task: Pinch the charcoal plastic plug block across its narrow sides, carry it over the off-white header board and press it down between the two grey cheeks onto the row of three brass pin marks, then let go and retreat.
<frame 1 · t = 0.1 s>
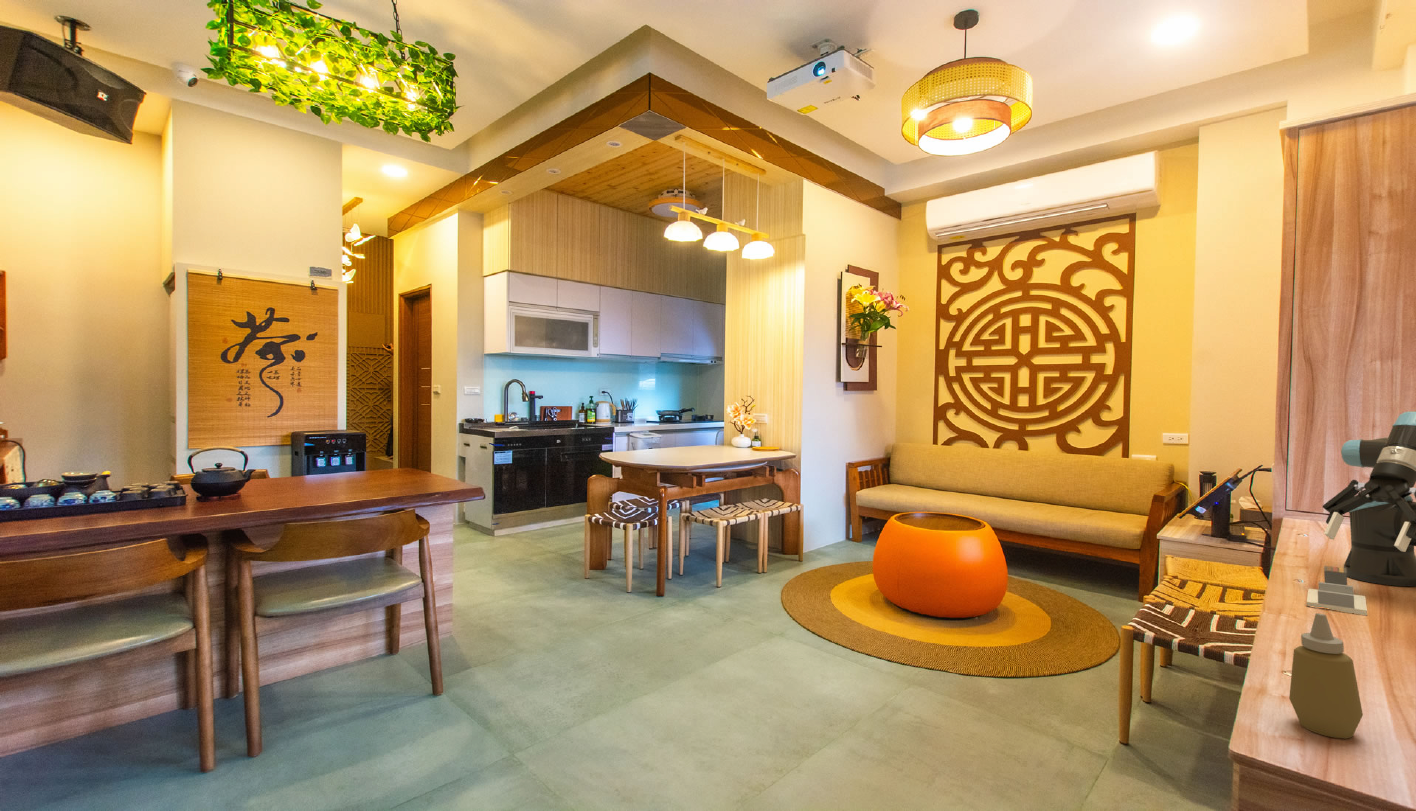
hand: (1362, 542, 148), 15 cm above the countertop, tool tilted 35°, fingers open, 13 cm apart
header board: (1336, 603, 149), on the countertop
plug: (1336, 592, 158), on the countertop
squeeze bottle: (1326, 730, 95), on the countertop
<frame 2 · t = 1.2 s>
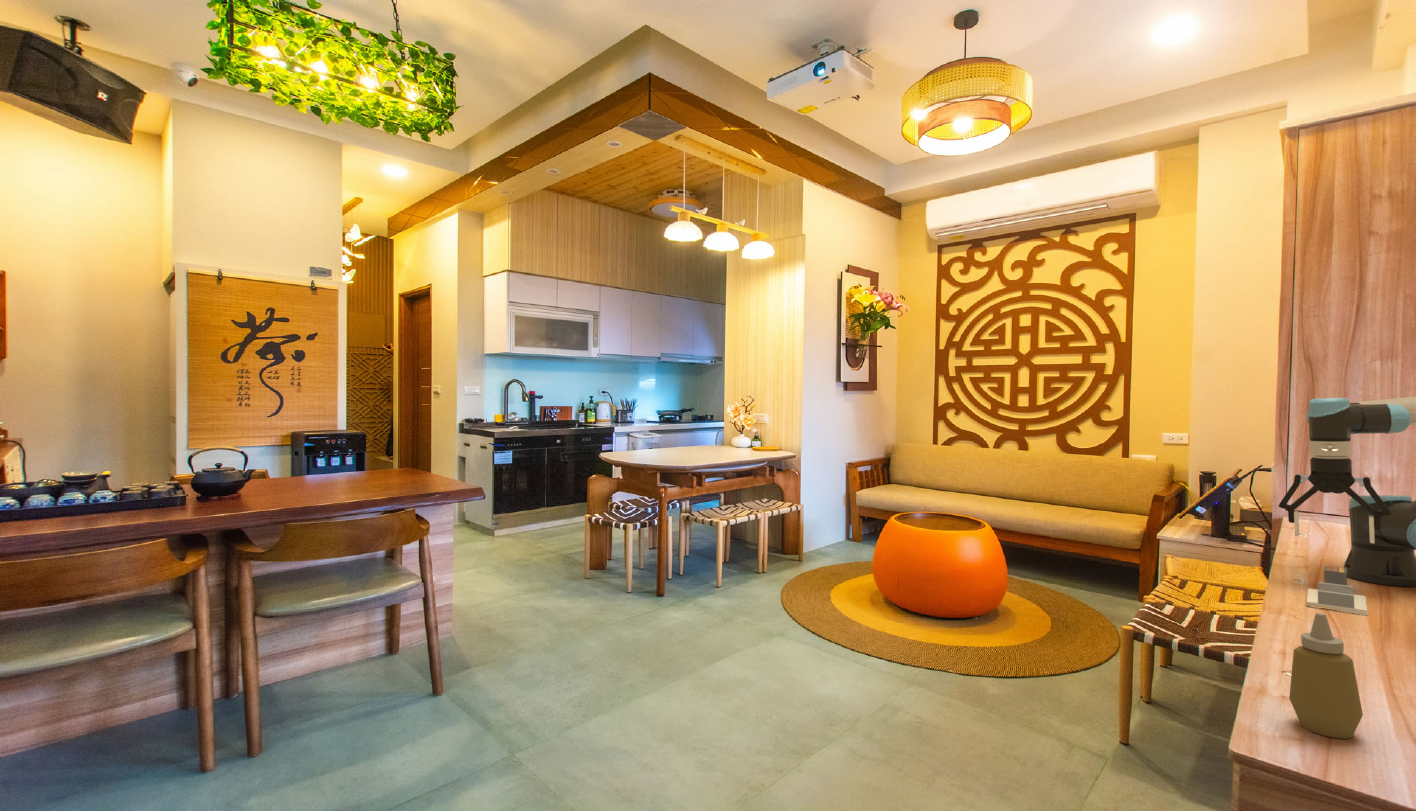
hand: (1333, 538, 158), 14 cm above the countertop, tool pointing down, fingers open, 13 cm apart
nothing on the countertop moved.
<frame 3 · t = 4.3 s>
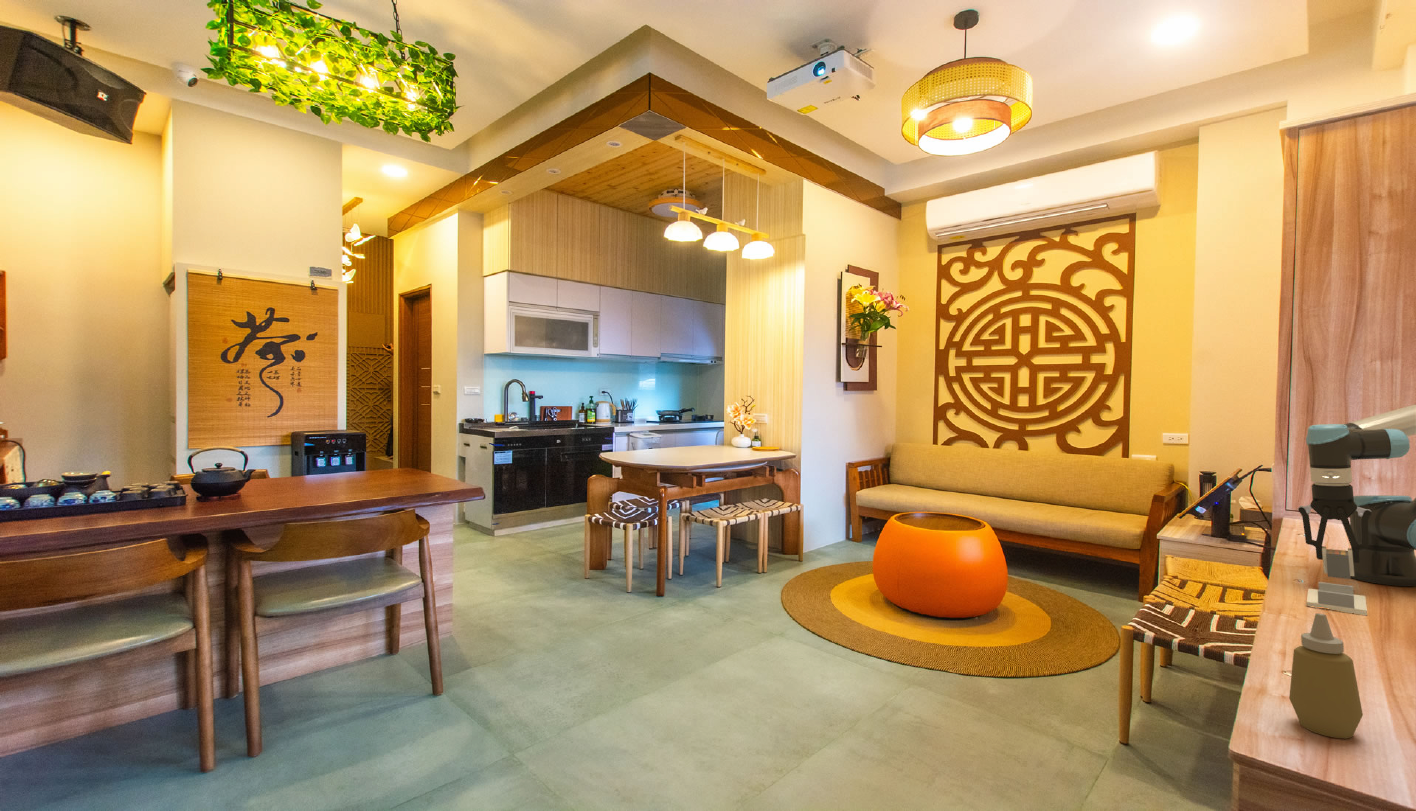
hand: (1338, 573, 158), 5 cm above the countertop, tool pointing down, fingers closed on plug, 4 cm apart
plug: (1339, 575, 157), point 4 cm above the countertop, touching gripper
everything else where it was.
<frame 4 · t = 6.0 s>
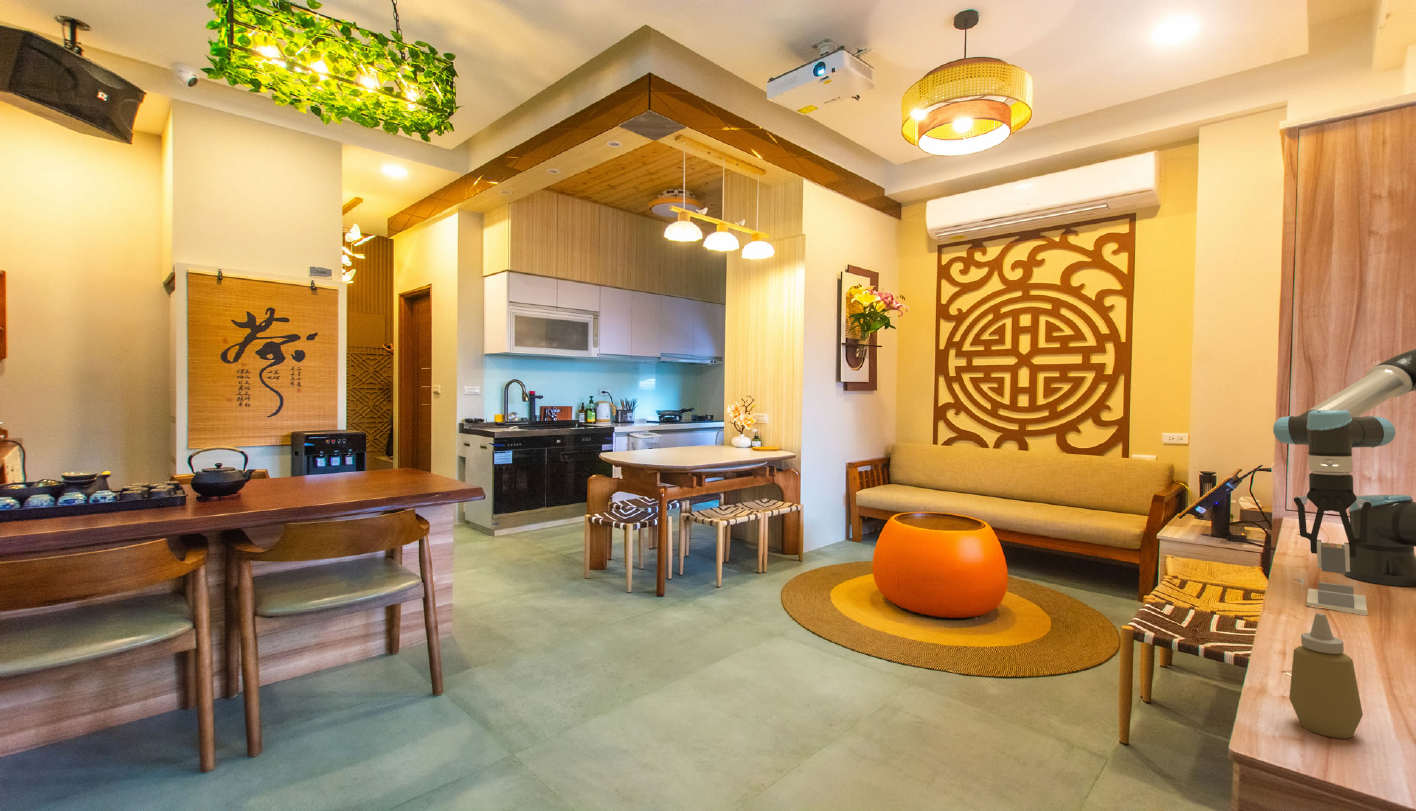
hand: (1333, 568, 148), 9 cm above the countertop, tool pointing down, fingers closed on plug, 4 cm apart
plug: (1333, 570, 148), point 9 cm above the countertop, touching gripper
everything else where it was.
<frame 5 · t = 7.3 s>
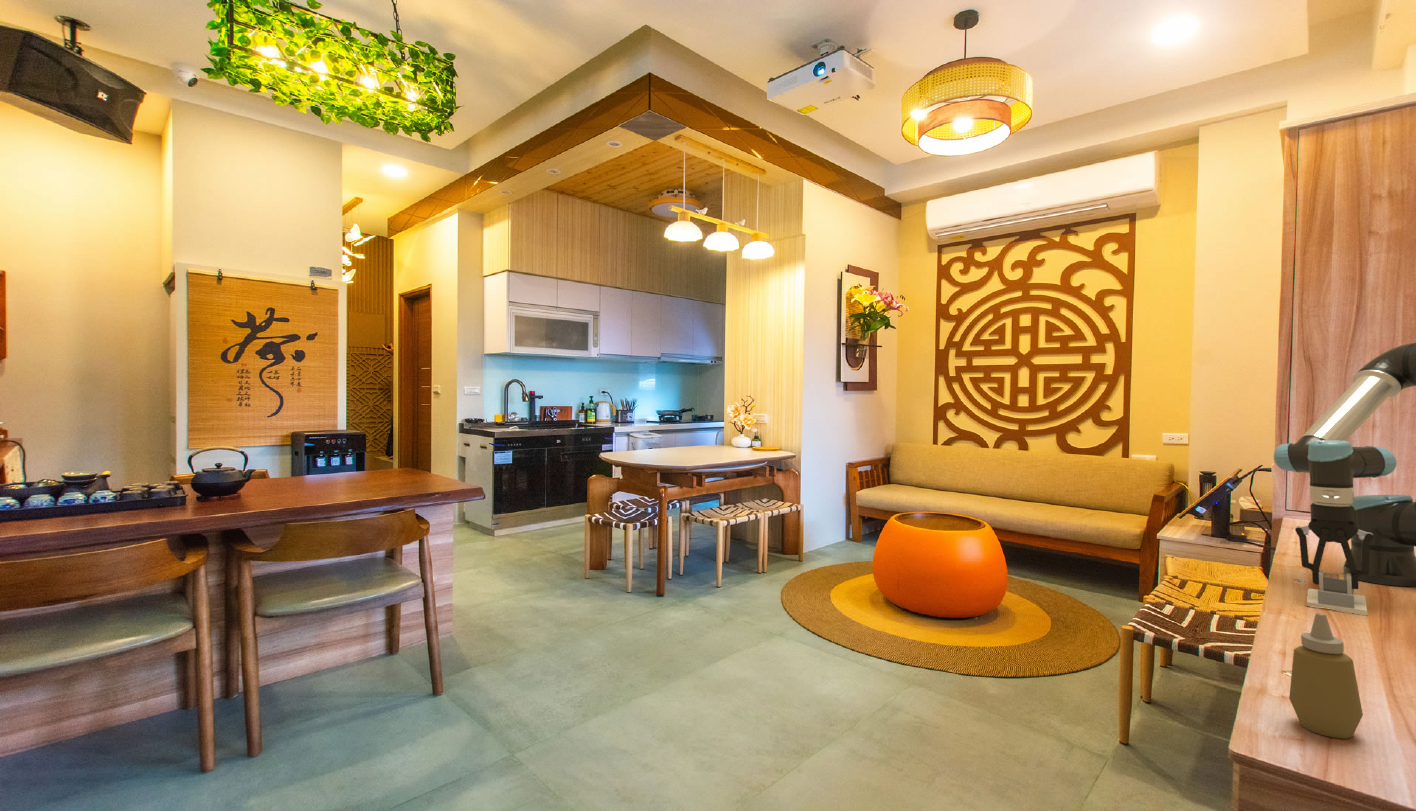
hand: (1335, 599, 148), 2 cm above the countertop, tool pointing down, fingers closed on plug, 4 cm apart
plug: (1335, 600, 148), point 1 cm above the countertop, touching gripper, header board
everything else where it was.
when the fingers open (2 cm above the countertop, at t = 7.7 s): plug stays where it is, resting on header board.
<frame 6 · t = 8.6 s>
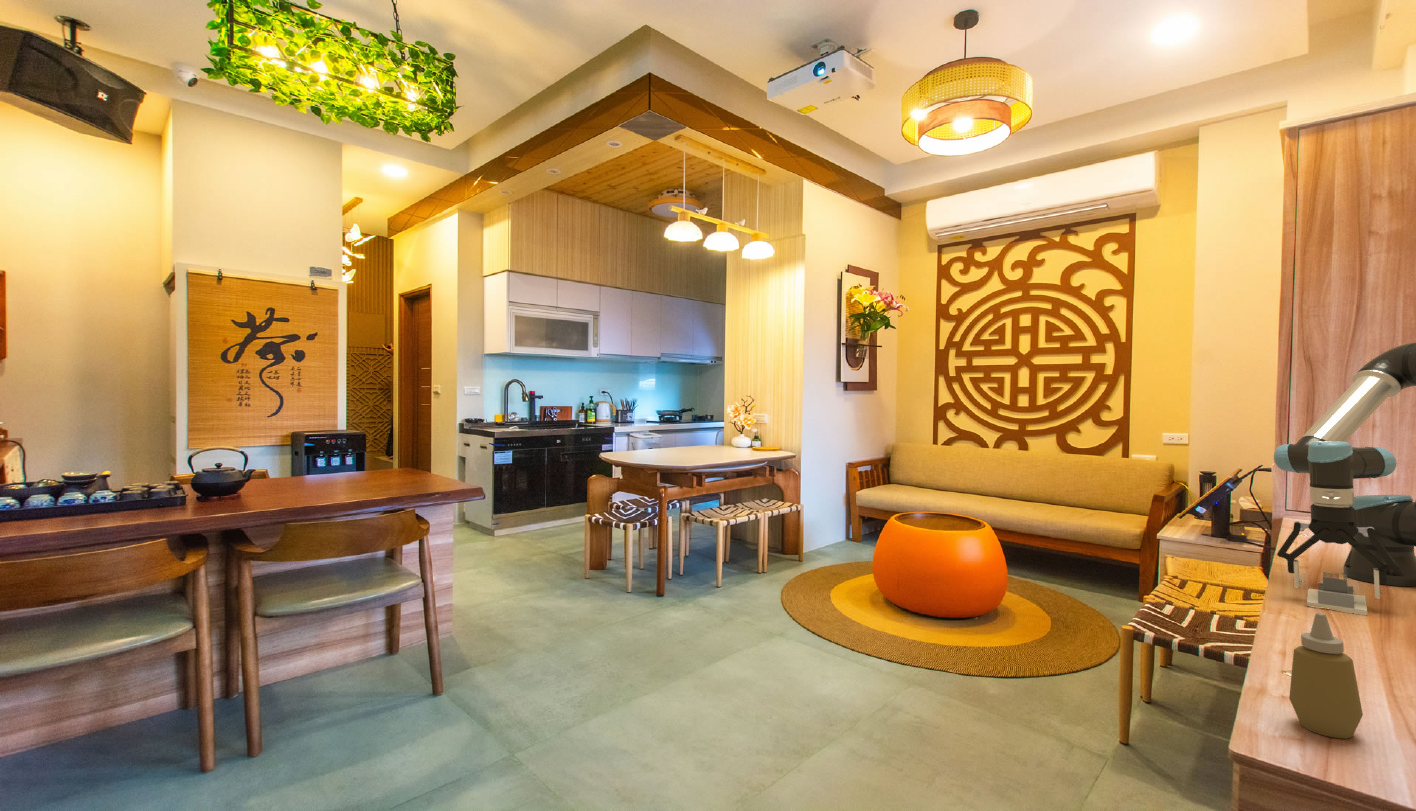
hand: (1335, 591, 148), 3 cm above the countertop, tool pointing down, fingers open, 13 cm apart
plug: (1335, 600, 148), point 1 cm above the countertop, touching header board
everything else where it was.
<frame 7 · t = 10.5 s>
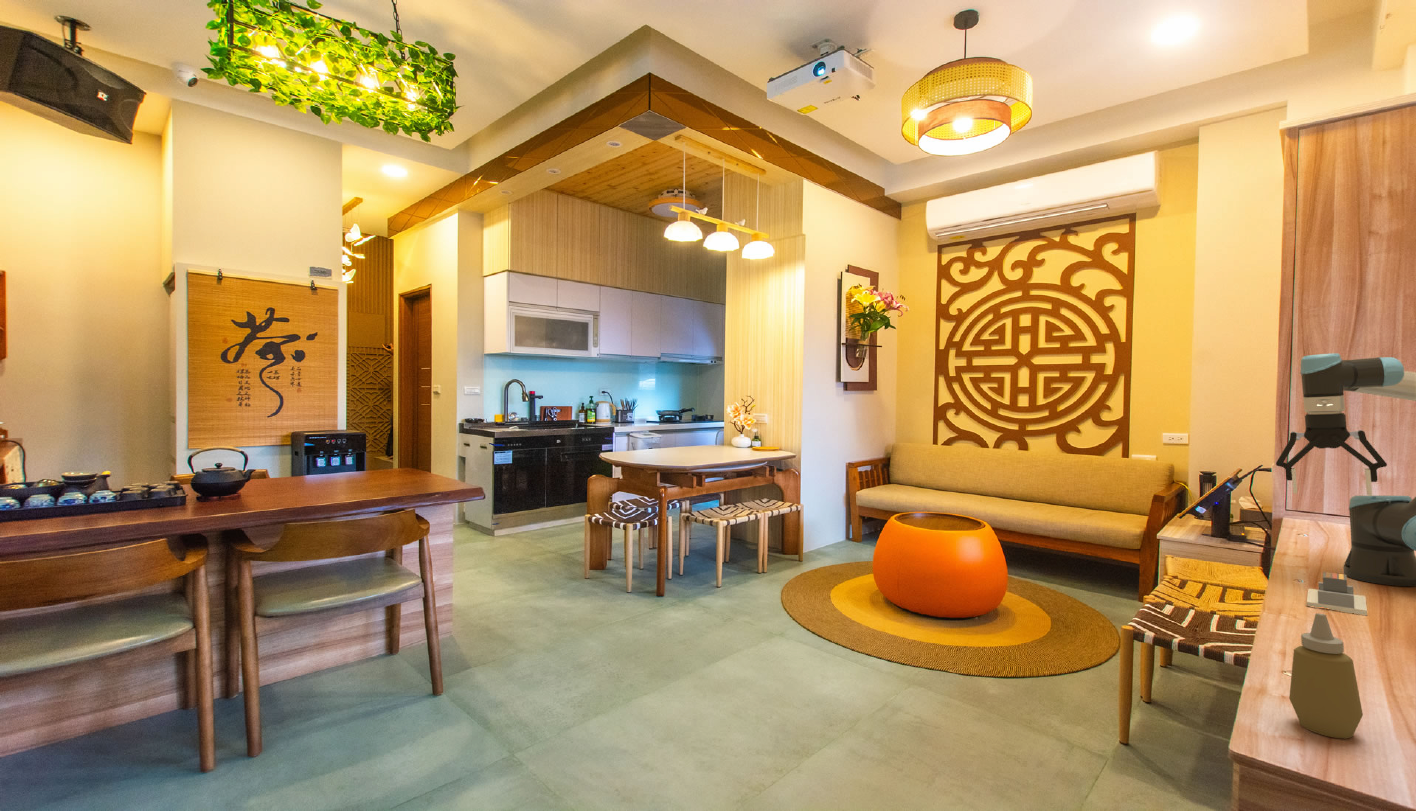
hand: (1331, 493, 159), 25 cm above the countertop, tool pointing down, fingers open, 13 cm apart
nothing on the countertop moved.
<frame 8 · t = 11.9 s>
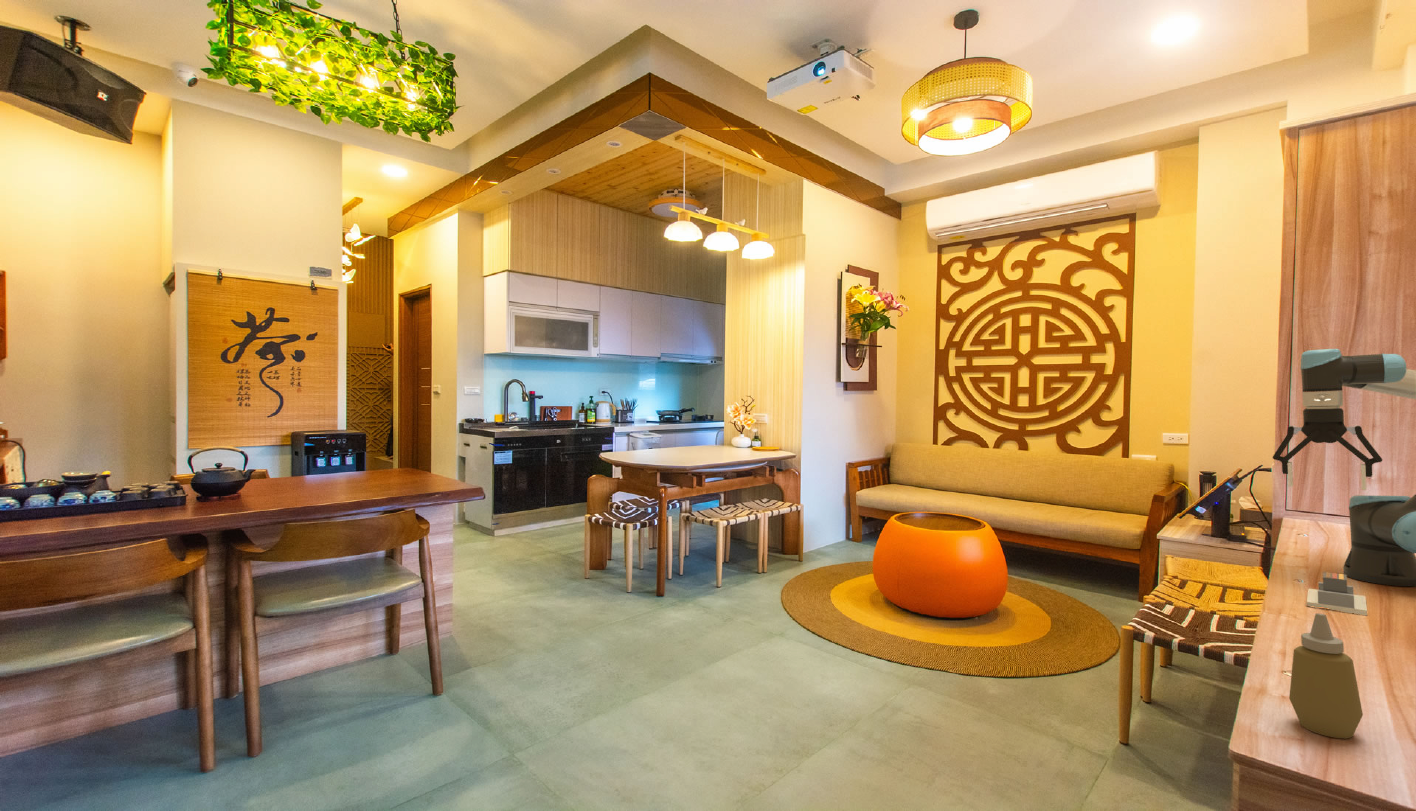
hand: (1326, 488, 161), 27 cm above the countertop, tool pointing down, fingers open, 13 cm apart
nothing on the countertop moved.
at the end: plug 0.3 cm from the target spot, point 1.3 cm above the countertop; plug tilted 0° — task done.
